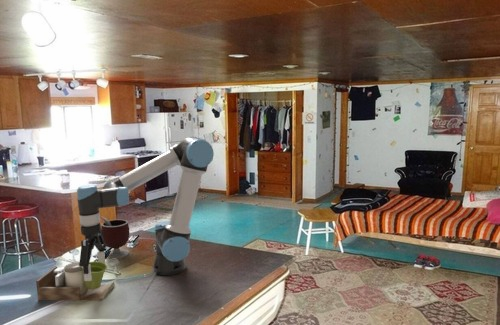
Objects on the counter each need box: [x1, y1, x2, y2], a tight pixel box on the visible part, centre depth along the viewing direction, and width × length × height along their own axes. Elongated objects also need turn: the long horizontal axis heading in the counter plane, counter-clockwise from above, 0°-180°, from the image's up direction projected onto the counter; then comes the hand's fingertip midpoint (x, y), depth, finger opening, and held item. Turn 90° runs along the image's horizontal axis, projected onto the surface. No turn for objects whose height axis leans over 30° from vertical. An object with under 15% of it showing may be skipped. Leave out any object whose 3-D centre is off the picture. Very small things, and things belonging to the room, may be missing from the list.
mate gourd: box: [100, 215, 130, 259], centre depth 207 cm, size 16×14×20 cm
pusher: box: [54, 266, 66, 287], centre depth 165 cm, size 4×11×10 cm, turn 178°
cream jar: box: [63, 261, 87, 295], centre depth 165 cm, size 8×8×11 cm
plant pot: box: [82, 261, 108, 289], centre depth 164 cm, size 9×9×9 cm
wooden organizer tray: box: [35, 266, 116, 302], centre depth 165 cm, size 26×14×9 cm, turn 88°
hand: (95, 273), depth 164 cm, fingers open, 13 cm apart
